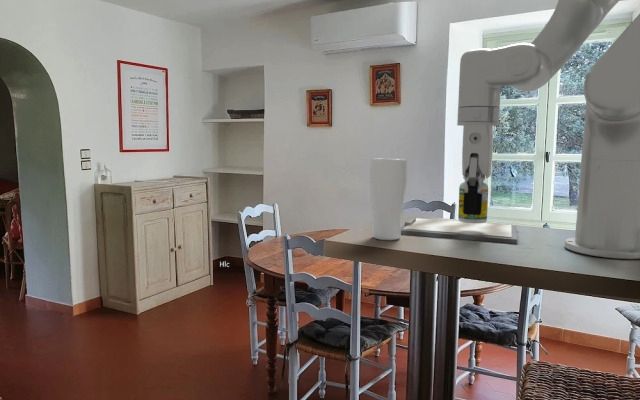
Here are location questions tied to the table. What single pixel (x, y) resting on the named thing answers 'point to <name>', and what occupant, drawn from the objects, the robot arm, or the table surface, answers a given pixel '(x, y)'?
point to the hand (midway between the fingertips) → (473, 211)
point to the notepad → (461, 230)
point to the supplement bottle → (483, 216)
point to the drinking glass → (387, 196)
